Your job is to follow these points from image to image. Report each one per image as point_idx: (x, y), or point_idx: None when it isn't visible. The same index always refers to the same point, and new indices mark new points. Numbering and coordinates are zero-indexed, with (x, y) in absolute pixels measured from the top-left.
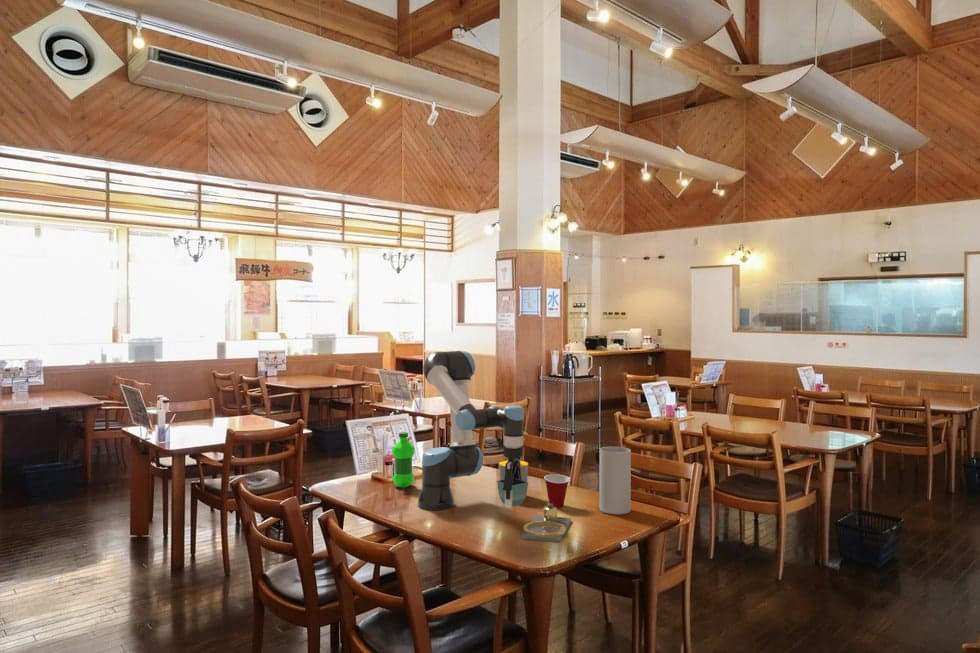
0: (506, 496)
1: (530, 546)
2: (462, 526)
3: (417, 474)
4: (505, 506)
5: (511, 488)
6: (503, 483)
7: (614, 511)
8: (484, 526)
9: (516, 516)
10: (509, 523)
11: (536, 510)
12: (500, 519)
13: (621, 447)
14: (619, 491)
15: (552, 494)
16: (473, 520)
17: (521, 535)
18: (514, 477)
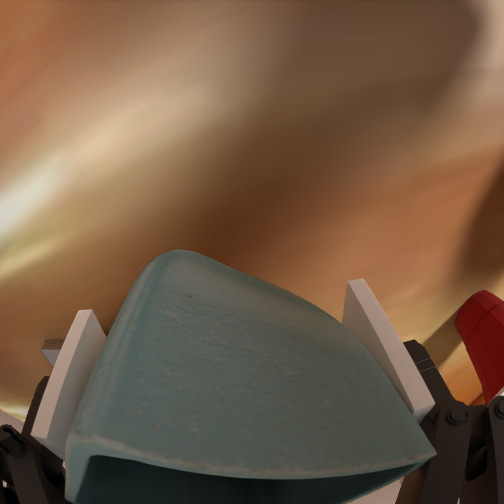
0: (37, 400)
1: (24, 372)
2: (31, 28)
3: None
4: (79, 319)
5: (57, 483)
6: (66, 479)
7: None
8: (71, 129)
9: (332, 224)
10: (189, 235)
11: (432, 274)
12: (242, 155)
13: None
14: (399, 480)
15: (482, 346)
16: (153, 8)
17: (42, 351)
18: (420, 474)
